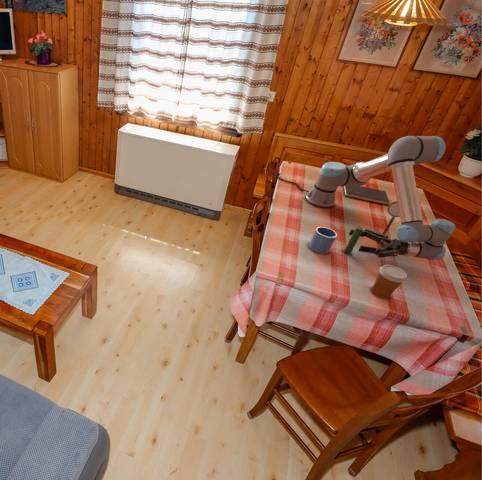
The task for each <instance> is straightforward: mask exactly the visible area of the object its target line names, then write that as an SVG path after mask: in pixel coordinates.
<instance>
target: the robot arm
mask: <svg viewBox="0 0 482 480" xmlns="http://www.w3.org/2000/svg"><path fill="white" fill-rule="evenodd" d="M445 152H446V143H445V140H444V139H443V138H442V137H440V136H436V135H429V136H427V135H424V136H423V135H406V136H402V137H400V138H398V139H397V140H395V141H394V142H393V143H392V144H391V146H390V148H389V149H388V152H387V153H386V154H384V155H381V156H378V157H376V158H373V159H371V160H369V161H358V162H356V163H353V164H351V165H346V164H344V163H342V162H339V161H338V162H337V161H328V162H325V163H324V164H322V166H321V168H320V170H319V172H318V175H317V178H316V180H315V181H314V182H315V183H314V185H313V187H312V188H311V189H310V190H306V189H304V188H301V186H300V184H299V183H297V182H294V181H290V180H286V179H284V178H282V177H280V176H279V175H278V174H277V172H276V171H275V172H273V173H274V175H275V176H276V178H277V179H279V180H281V181H282V182H283V181H284V182H286V183H289V184H294V185H296V186H297V187H298V189H299V190H300V191H303V192H306V193H307V194H306V195H305V200H306V201H307V202H308V203H310V204H311V205H313V206H315V207H319V208H326V209H327V208H332V207H333V206H334V205H335V201H336V193H337V190H338V188H339V187H343V186H365V185H367V184H368V183H369V181H370V180H371V179H372V178H373V177H377V176H378V175H382V174H385V173H388V172H391V175H392V181H393V186H394V190H395V191H394V192H395V196H396V201H397V203H398V208H399V214H400V217H399V219H400V226H398V228H397V229H396V232H395V235H396V237H395V238H394V239H390V238H389V237H390V236H389V235H388V234H385V235H383V233H380V232H377V231H374V230H370V229H368V228H365V229H364V230H363V232H362V234H361V235H360V237H361V238H367V239H370V240H372V241H374V242H377V244H378V245H380V246H381V247H380V248H377V247H373V246H366V245H360V247H359V249H357V251H358V252H361V253H368V254H373V255H375V256H377V258H380V259H381V258H389V257H398V256H405V257H412V258H417V259H418V258H419V259H423V260H424V259H425V260H429V261H430V260H431V261H441V260H442V259H444V257H445V256H446V255H445V254H446V253H447V249H446V247H445V244H446V243H447V241H448V240H449V239H450V237H451V235H453V232H454V231H455V229H456V225H455V223H454V222H452V221H450V220H447V219H444V218H436V219H435V220H434V221H433V222H432V224H424V220H423V214H422V210H421V205H420V204H421V203H420V198H419V193H418V188H417V183H416V178H415V172H414V167H415V166H418V165H420V164H425V163H434V162H437V161H439V160H441V159H442V157H443V156H444V154H445ZM354 231H355V229H350V231H349V233H348V235H349V236H352V235H353V233H354ZM360 237H359V238H360Z"/></svg>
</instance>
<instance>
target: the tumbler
mask: <svg viewBox="0 0 482 480" xmlns="http://www.w3.org/2000/svg"><path fill="white" fill-rule="evenodd" d="M337 237H338V233H337V231H335V230H334V229H332V228H330V227H326V226H318V227H316V229H315V230H314V233H313V235H312V237H311V239H310V242H309V244H308V248H309V249H310V250H311V251H313V252H315V253H317V254H322V255H327V254H328V253H329V252H330V251H331V249H332V247H333V245H334V243H335V241H336V239H337Z"/></svg>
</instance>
